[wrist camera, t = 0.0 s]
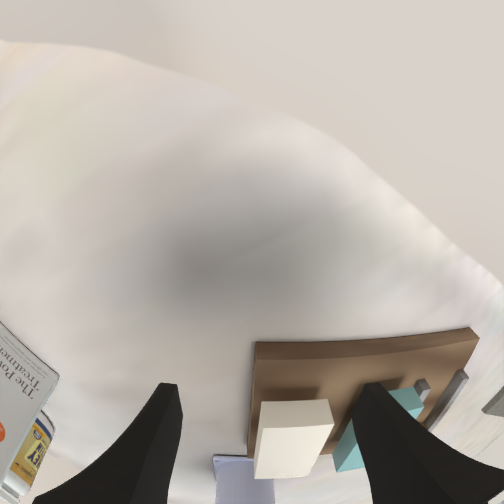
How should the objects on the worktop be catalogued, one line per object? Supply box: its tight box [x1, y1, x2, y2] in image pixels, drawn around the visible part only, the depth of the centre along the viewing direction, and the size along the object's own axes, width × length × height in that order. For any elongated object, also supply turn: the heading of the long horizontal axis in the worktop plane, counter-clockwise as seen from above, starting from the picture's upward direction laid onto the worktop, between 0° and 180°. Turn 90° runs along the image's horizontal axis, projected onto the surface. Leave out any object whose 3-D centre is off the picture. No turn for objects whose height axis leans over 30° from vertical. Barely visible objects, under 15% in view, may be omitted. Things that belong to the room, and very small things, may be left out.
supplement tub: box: [0, 411, 54, 504], centre depth 19 cm, size 12×12×17 cm
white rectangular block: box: [254, 399, 334, 479], centre depth 19 cm, size 10×5×2 cm, turn 177°
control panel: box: [247, 327, 480, 459], centre depth 22 cm, size 16×22×4 cm
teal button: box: [332, 387, 424, 472], centre depth 20 cm, size 10×5×2 cm, turn 177°
